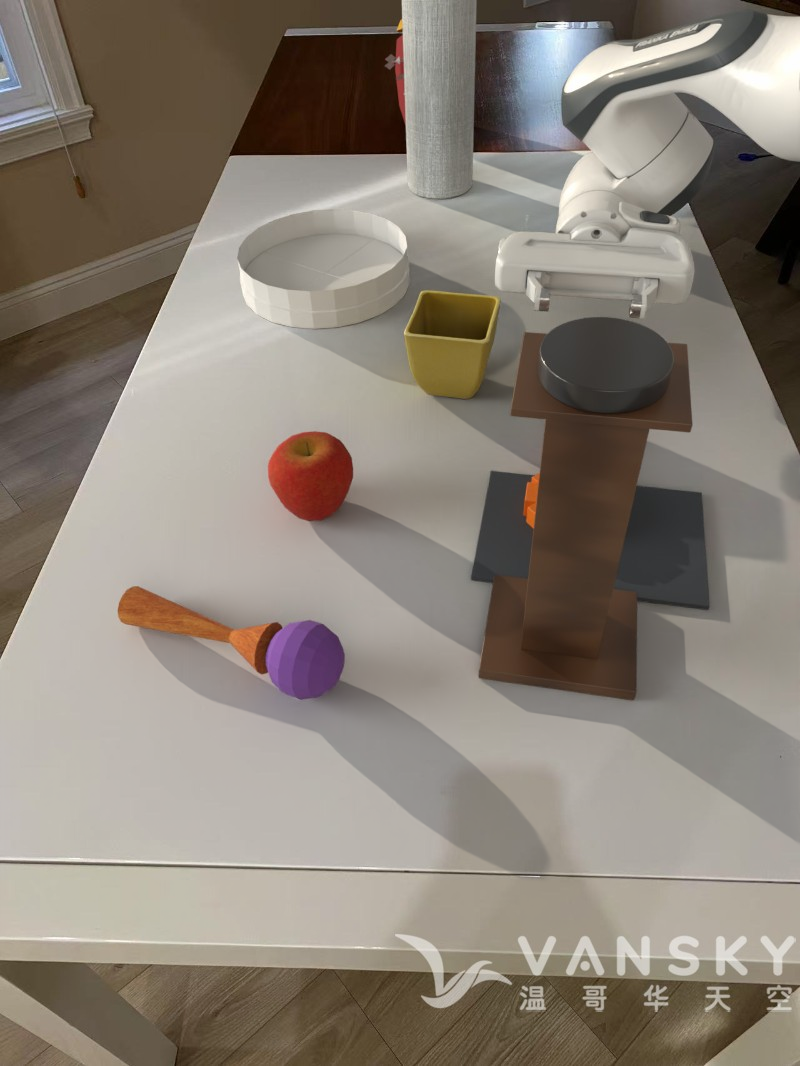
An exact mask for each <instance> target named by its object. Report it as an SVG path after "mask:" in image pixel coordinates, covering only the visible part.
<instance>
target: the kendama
mask: <svg viewBox="0 0 800 1066" xmlns="http://www.w3.org/2000/svg"><path fill="white" fill-rule="evenodd" d="M117 617H118V619H119V621H120V622H121V623H122V624H124V625H128V626H134V627H137V628H138V627H139V628H145V629H150V630H155V631H160V632H166V633H171V634H177V635H183V636H188V637H192V638H193V637H194V638H200V639H205V640H211V641H216V642H221V643H226V644H230V645H231V646H232V647H233V648H234V649H235V651H236V652H237V653H238V654H239V655H240V656H241V657H242V658H243V659H244V660H245V661H246V662H247V663H248V664H249V665H250V667H252V668H253V670H254V671H255V672H256V673H258V674H260V675H261V676H262V675H265V674H268V675H269V678H270V680H271V681H270V682H271V683H272V684H273V685H274V686H275V687H276V688H277V689H278V690H279V691H280V692H281V693H283V694H284V695H287V696H289V697H292V698H295V699H298V700H308V699H316V698H318V697H321V696H323V695H324V694H326V693H328V692H329V691H331V690H332V689H333V688H334V687H335V686H336V685H337V683H338V682H339V680H340V678H341V676H342V673H343V670H344V667H345V661H346V660H345V659H346V657H345V656H346V654H345V650H344V648H343V645H342V642H341V641H340V638H339V636H338V635H336V634H335V632H333V631H332V630H331V629H330V628H329V627H328V626H326V625H325V624H324V623H321V622H318V621H314V620H311V619H307V620H302V621H295V622H289V623H288V624H287V625H285V626H284V627H283V625H282V624H281V623H279V622H278V621H275V622H270V623H265V624H259V625H254V626H249V627H244V628H238V629H233V628H232V627H229V626H226V625H225V624H222V623H220V622H218V621H216V620H213V619H211V618H209V617H208V616H205V615H203V614H200V613H198V612H196V611H194V610H191V609H189V608H187V607H184V606H182V605H181V604H178V603H176V602H175V601H171V600H169V599H167V598H165V597H162V596H161V595H158V594H156V593H154V592H153V591H152V592H151V591H150V590H148V589H145V588H142V587H141V586H139V585H137V586H136V585H135V586H131V587H129V588H127V589H126V590H125V592H124V593H123V594H122V595H121V597H120V599H119V601H118V605H117Z"/></svg>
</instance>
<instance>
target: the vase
mask: <svg viewBox="0 0 800 1066" xmlns="http://www.w3.org/2000/svg"><path fill="white" fill-rule="evenodd" d="M477 2H478V1H477V0H401V19H402V26H403V32H402V35H403V56H404V86H405V116H406V125H405V141H406V145H405V146H406V168H407V169H406V172H407V185H408V189H409V191H411V193H413V194H415V195H416V196H418V197H421V198H425V199H434V200H443V199H445V200H446V199H452V198H456V197H459V196H462V195H463V194H465V193H466V192H468V191H470V189H471V188H472V186H473V176H474V175H473V173H474V172H473V171H474V135H475V133H474V131H475V129H474V127H475V91H476V89H475V86H476V44H477V42H476V41H477V37H476V36H477V4H478V3H477Z"/></svg>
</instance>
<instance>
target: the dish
mask: <svg viewBox="0 0 800 1066" xmlns="http://www.w3.org/2000/svg"><path fill="white" fill-rule="evenodd" d="M236 259H237V260H236V261H237V264H238V268H239V273H240V274H239V283H240V286H241V292H242V296H243V298H244V301H245V304H246V306H247V307H248V308H249V309H250V310H252V312H254V314H255V315H257V316H259V317H261V318H263V319H265V320H267V321H269V322H271V323H272V324H273V323H274V324H276V325H277V324H278V325H280V326H281V325H282V326H286V327H290V328H297V329H298V328H299V329H310V330H311V329H312V330H317V329H318V330H319V329H332V328H333V329H334V328H335V329H336V328H341V327H345V326H350V325H354V324H359V323H363V322H365V321H368V320H371V319H373V318H375V317H378V316H380V315H382V314H383V313H385V312H386V311H388V310H390V309H391V308H393V307H395V306H396V305H397V304H398V303H399V302H400V301H401V299H402V298H403V297H404V296H405V295H406V294H407V291H408V288H409V286H410V282H411V281H410V262H409V261H410V260H409V256H408V243H407V236H406V235H405V234H404V232H403V230H402V229H401V228H400V226H398V225H397V224H395V223H394V222H393V221H390V220H389V219H388V218H385V217H382V216H379V215H377V214H373V213H371V212H365V211H360V210H354V209H338V208H331V209H315V210H314V209H313V210H307V211H301V212H296V213H292V214H289V215H285V216H283V217H279V218H275V219H273V220H271V221H269V222H267V223H265V224H263V225H261V226H259V227H257V228H256V229H255V230H254V231H252V232H251V233H250V234H248V235H247V236H246V237H245V238H244V240H243V241H242V243H241V244H240V245H239V247H238V251H237V257H236Z"/></svg>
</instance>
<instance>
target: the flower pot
mask: <svg viewBox="0 0 800 1066" xmlns="http://www.w3.org/2000/svg"><path fill="white" fill-rule="evenodd" d="M501 301H502V300H501V297H500V296H496V295H485V294H474V293H461V292H450V291H441V290H422V291H420V293H419V295H418V298H417V300H416V303H415V305H414V308H413V312H412V314H411V316H410V317H409V320H408V323H407V325H406V327H405V329H404V332H403V337H404V342H405V347H406V354H407V359H408V365H409V369H410V372H411V375H412V377H413V379H414V381H415V382H416V384H417V385H418V387H419V388H420V389H421V390H422V391H423V392H424V393H425V394H427V395H429V396H436V397H437V396H438V397H447V398H455V399H461V400H462V399H464V400H470V399H472V398H473V397H474V396H475V394H476V393H478V391H479V390H480V387H481V386H482V383H483V380H484V377H485V373H486V370H487V369H486V368H487V366H488V361H489V357H490V354H491V351H492V347H493V345H494V341H495V336H496V331H497V326H498V319H499V313H500V308H501Z"/></svg>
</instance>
